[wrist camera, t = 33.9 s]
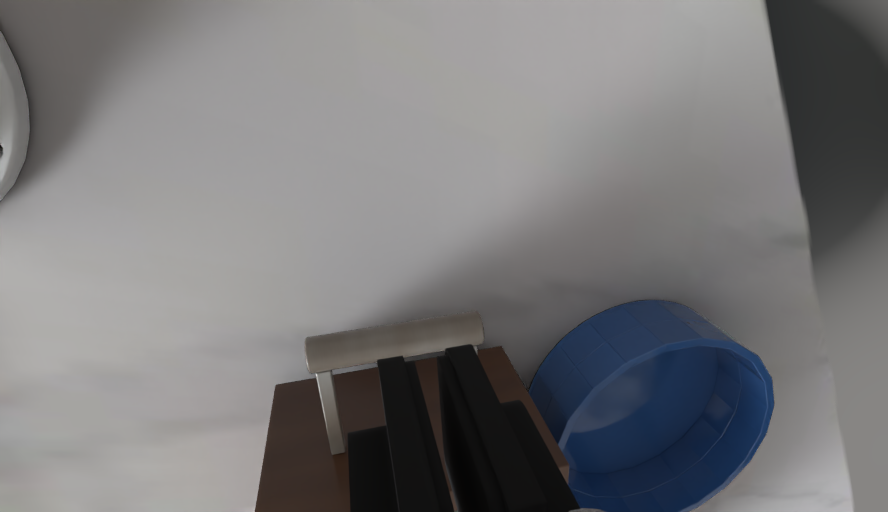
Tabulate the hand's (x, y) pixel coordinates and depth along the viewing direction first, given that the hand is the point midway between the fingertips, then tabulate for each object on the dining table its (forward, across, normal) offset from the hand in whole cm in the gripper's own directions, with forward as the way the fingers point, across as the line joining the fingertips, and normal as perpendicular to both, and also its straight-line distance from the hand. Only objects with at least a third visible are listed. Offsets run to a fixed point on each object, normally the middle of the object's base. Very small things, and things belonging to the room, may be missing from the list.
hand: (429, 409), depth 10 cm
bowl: (+15, -15, +15) cm, 26 cm away
